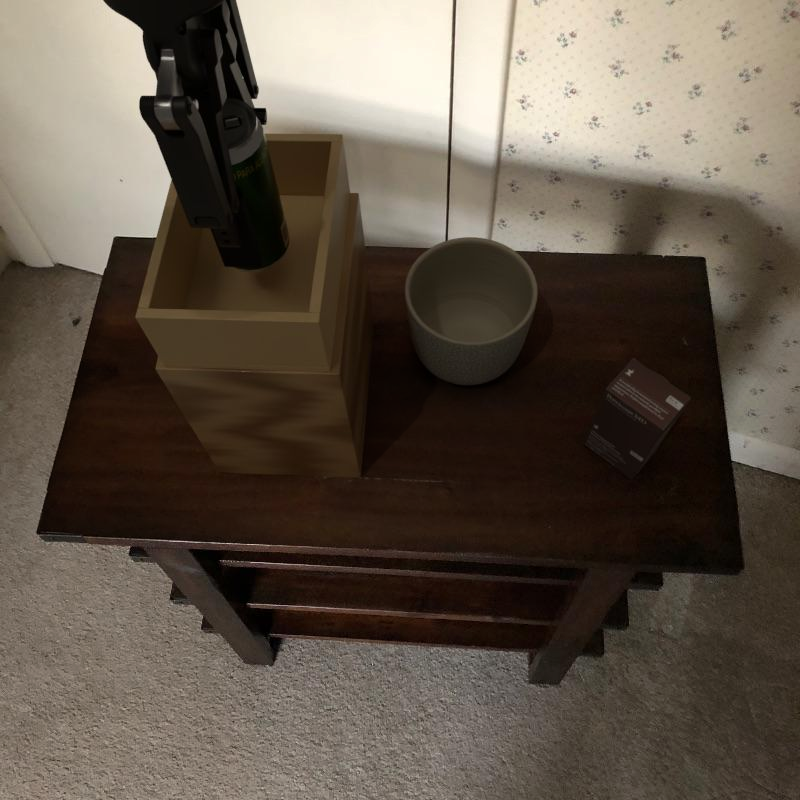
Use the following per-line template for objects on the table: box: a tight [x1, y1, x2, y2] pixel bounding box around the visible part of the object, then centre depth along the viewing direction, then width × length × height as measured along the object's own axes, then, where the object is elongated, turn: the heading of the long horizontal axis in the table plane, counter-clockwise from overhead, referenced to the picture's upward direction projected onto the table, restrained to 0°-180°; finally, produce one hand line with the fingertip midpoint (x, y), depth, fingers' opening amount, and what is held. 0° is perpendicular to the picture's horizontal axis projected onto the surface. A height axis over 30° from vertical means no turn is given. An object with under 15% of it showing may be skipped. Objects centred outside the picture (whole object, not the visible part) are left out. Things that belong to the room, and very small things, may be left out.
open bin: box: [135, 132, 351, 372], centre depth 59 cm, size 13×18×7 cm
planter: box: [404, 236, 539, 386], centre depth 76 cm, size 12×12×11 cm
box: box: [582, 357, 692, 481], centre depth 70 cm, size 6×4×12 cm
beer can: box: [221, 97, 289, 273], centre depth 53 cm, size 5×5×12 cm
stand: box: [154, 192, 375, 479], centre depth 70 cm, size 14×18×20 cm
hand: (250, 230), depth 57 cm, fingers closed on beer can, 5 cm apart
